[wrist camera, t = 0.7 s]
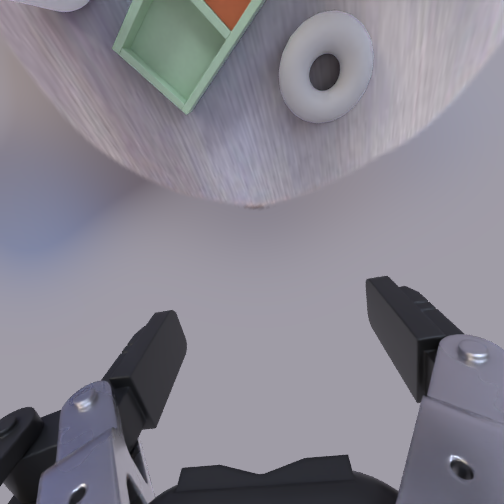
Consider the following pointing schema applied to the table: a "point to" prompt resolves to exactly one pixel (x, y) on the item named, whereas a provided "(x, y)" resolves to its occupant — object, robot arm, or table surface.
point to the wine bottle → (56, 4)
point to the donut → (312, 46)
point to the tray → (182, 42)
